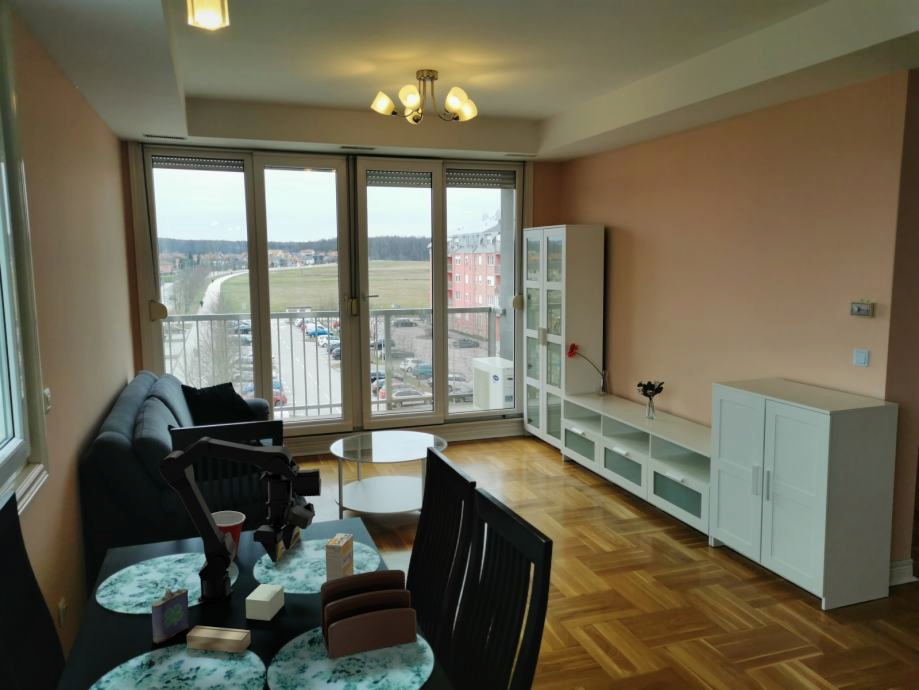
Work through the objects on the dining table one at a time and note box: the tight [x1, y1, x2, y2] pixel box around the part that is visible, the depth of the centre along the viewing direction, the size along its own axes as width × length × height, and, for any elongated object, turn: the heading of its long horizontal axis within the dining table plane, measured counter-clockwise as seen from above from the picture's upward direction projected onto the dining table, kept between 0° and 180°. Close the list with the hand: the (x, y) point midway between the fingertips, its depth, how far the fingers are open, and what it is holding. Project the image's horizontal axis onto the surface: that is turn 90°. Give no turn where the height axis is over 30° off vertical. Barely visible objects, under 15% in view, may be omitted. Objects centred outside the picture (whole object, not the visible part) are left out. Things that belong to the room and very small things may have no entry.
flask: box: [150, 587, 190, 644], centre depth 155 cm, size 9×3×11 cm, turn 151°
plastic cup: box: [211, 510, 246, 558], centre depth 197 cm, size 11×11×12 cm
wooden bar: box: [186, 625, 252, 654], centre depth 151 cm, size 13×4×3 cm, turn 81°
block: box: [245, 583, 285, 621], centre depth 166 cm, size 6×8×5 cm
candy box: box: [277, 526, 301, 560], centre depth 202 cm, size 16×2×8 cm, turn 171°
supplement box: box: [325, 532, 355, 582], centre depth 178 cm, size 8×5×13 cm, turn 168°
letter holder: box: [320, 569, 418, 660], centre depth 153 cm, size 10×20×14 cm, turn 111°
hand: (281, 555), depth 175 cm, fingers open, 8 cm apart
